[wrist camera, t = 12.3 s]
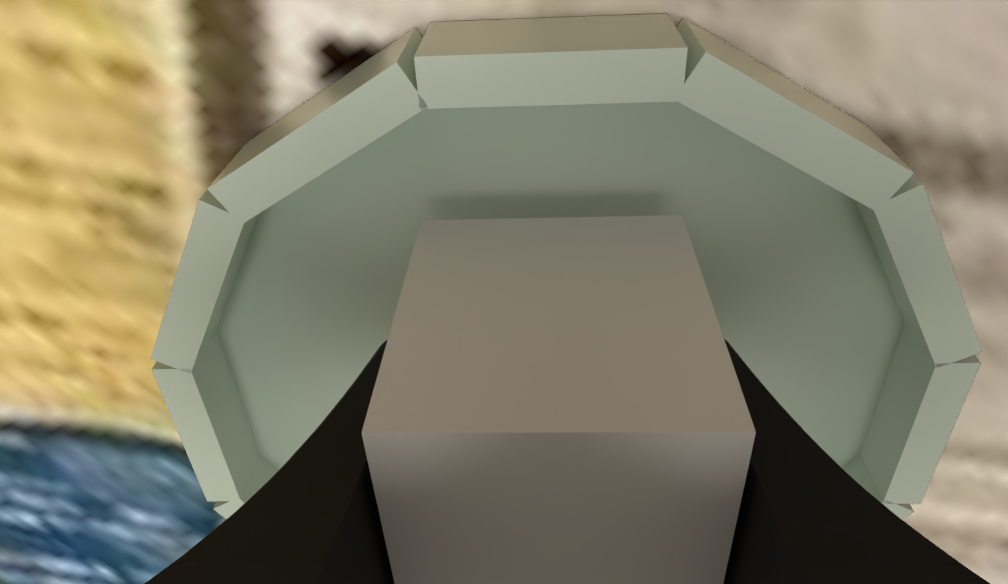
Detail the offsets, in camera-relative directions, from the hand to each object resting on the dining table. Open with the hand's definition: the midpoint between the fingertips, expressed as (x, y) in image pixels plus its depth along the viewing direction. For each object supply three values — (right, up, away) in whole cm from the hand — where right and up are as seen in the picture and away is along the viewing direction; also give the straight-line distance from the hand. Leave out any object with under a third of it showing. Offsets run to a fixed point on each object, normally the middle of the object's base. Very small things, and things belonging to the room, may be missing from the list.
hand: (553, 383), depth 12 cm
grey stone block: (0, +1, +1) cm, 2 cm away
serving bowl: (0, 0, +4) cm, 4 cm away
